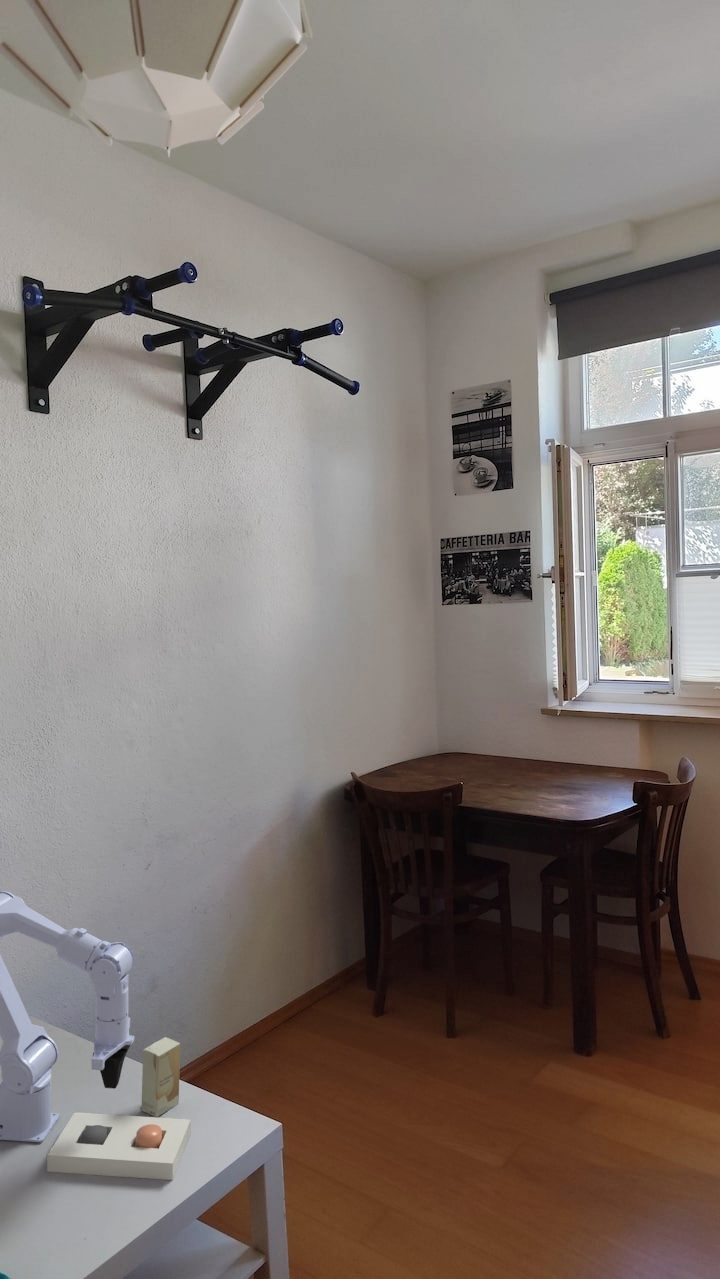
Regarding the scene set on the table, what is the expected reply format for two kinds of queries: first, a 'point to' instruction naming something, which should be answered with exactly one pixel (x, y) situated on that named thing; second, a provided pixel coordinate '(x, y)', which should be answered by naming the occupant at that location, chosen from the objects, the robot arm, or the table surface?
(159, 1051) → the skincare box
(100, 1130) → the grey rounded piece
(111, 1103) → the table surface
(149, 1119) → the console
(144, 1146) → the terracotta button
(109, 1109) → the table surface
